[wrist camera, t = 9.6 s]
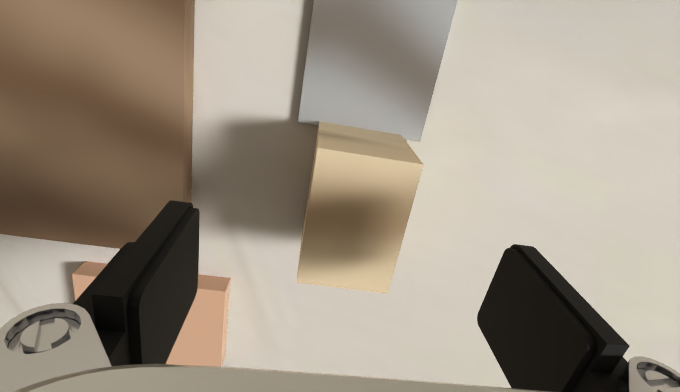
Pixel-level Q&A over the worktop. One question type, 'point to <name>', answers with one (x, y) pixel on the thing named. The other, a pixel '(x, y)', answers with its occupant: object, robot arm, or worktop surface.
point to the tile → (187, 318)
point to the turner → (366, 132)
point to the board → (94, 116)
